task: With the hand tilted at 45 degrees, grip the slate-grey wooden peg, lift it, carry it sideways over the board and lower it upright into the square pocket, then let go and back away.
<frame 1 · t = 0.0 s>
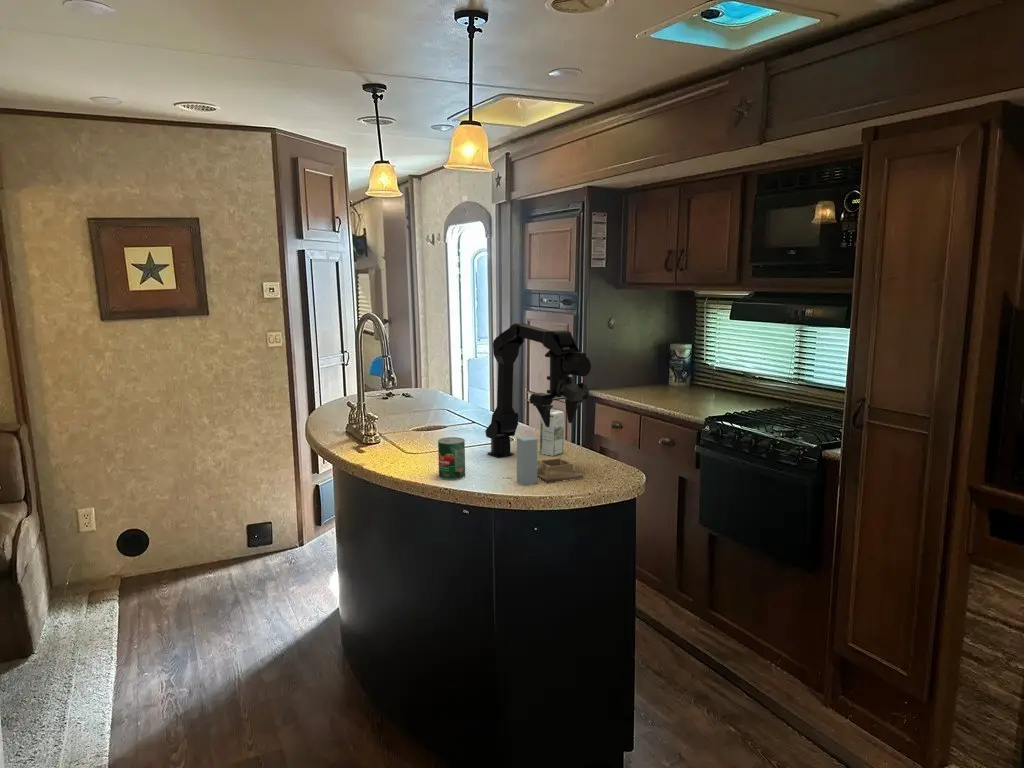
hand: (559, 425, 204), 15 cm above the worktop, tool pointing down, fingers open, 9 cm apart
slate peg: (526, 482, 196), on the worktop
pocket board: (555, 475, 203), on the worktop
syrup box: (551, 454, 229), on the worktop
canned tomato: (452, 477, 203), on the worktop
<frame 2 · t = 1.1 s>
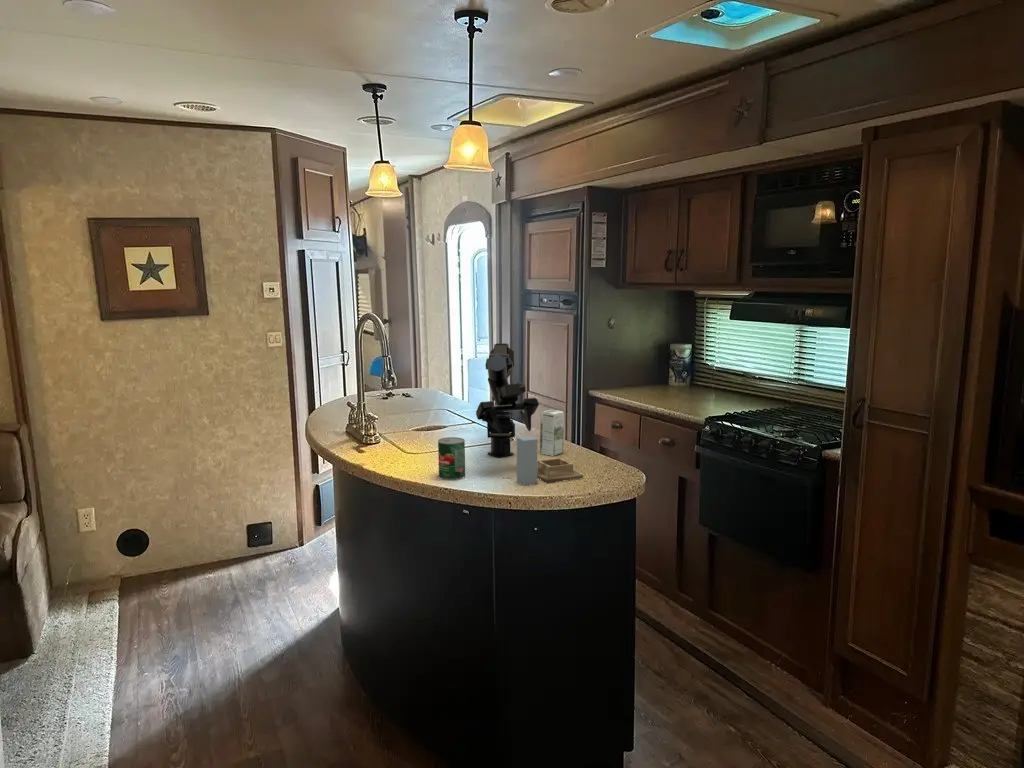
hand: (515, 431, 201), 13 cm above the worktop, tool tilted 45°, fingers open, 9 cm apart
nothing on the worktop moved.
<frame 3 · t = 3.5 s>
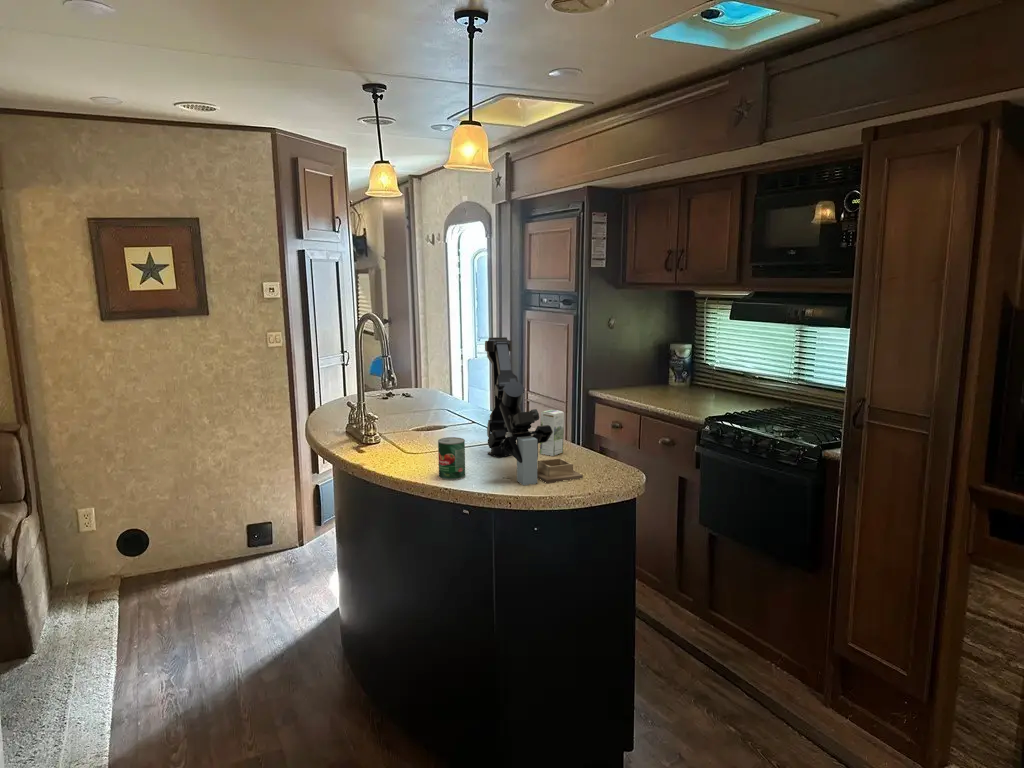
hand: (529, 461, 194), 7 cm above the worktop, tool tilted 45°, fingers closed on slate peg, 4 cm apart
slate peg: (526, 482, 196), on the worktop, touching gripper
everything else where it was.
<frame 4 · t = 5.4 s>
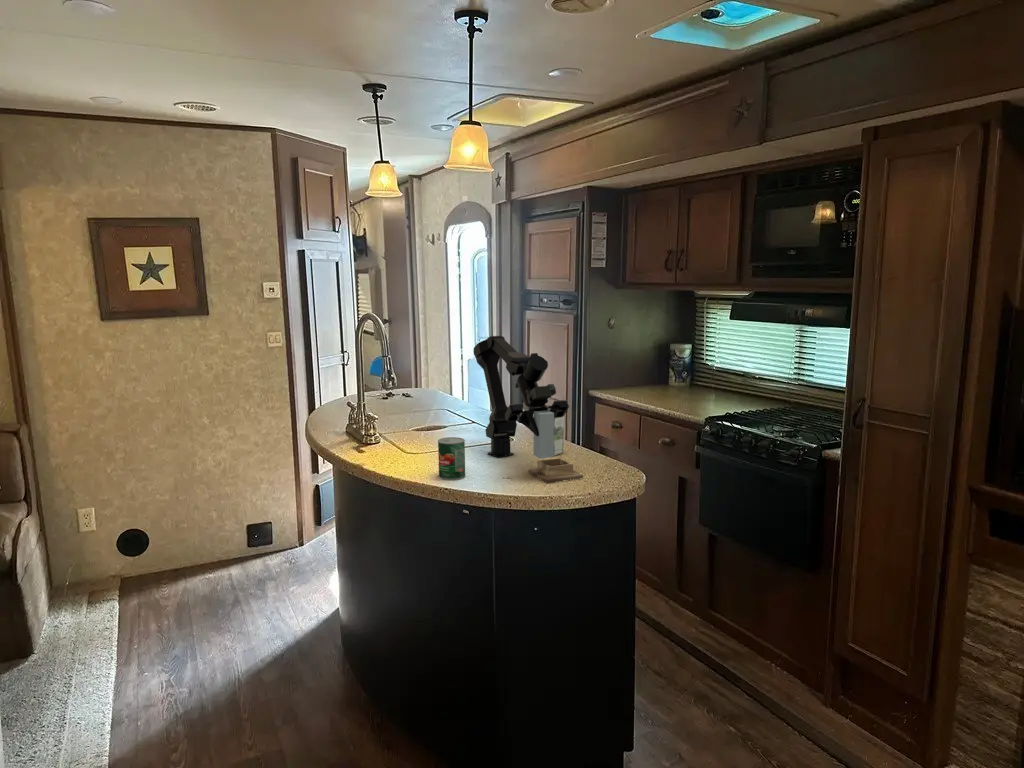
hand: (545, 434, 197), 13 cm above the worktop, tool tilted 45°, fingers closed on slate peg, 4 cm apart
slate peg: (543, 456, 200), point 7 cm above the worktop, touching gripper
everything else where it was.
when the fingers open (8 cm above the worktop, at t = 7.3 s): slate peg stays where it is, resting on pocket board.
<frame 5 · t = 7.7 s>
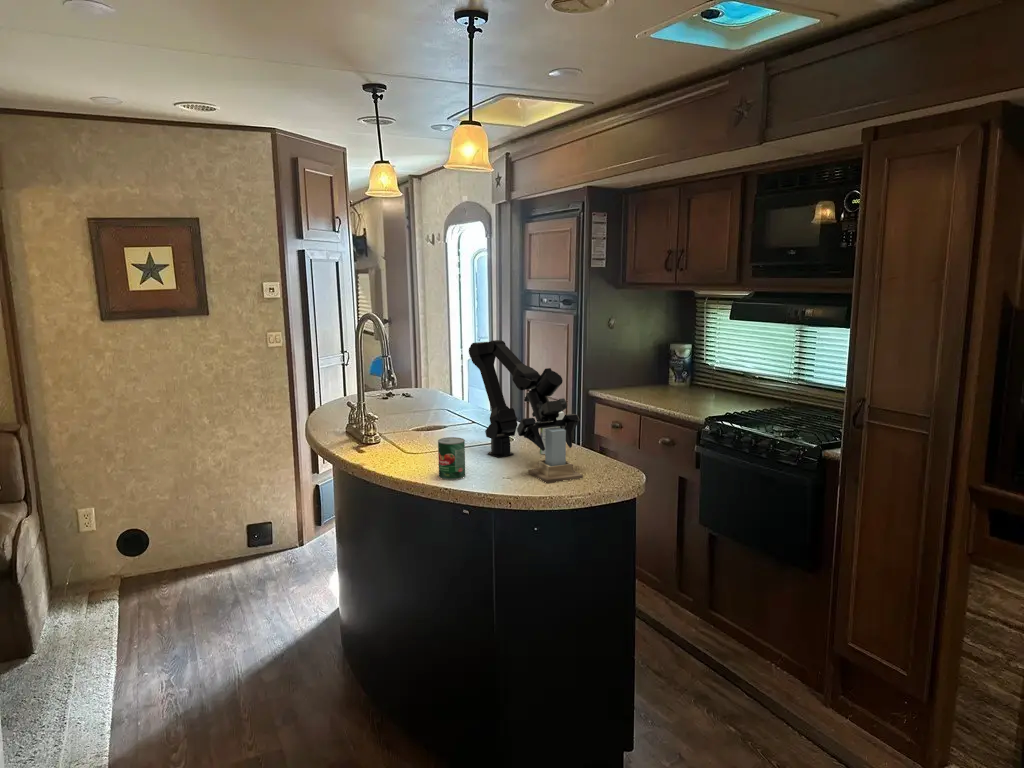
hand: (557, 448, 201), 9 cm above the worktop, tool tilted 45°, fingers open, 9 cm apart
slate peg: (555, 472, 203), point 1 cm above the worktop, touching pocket board
everything else where it was.
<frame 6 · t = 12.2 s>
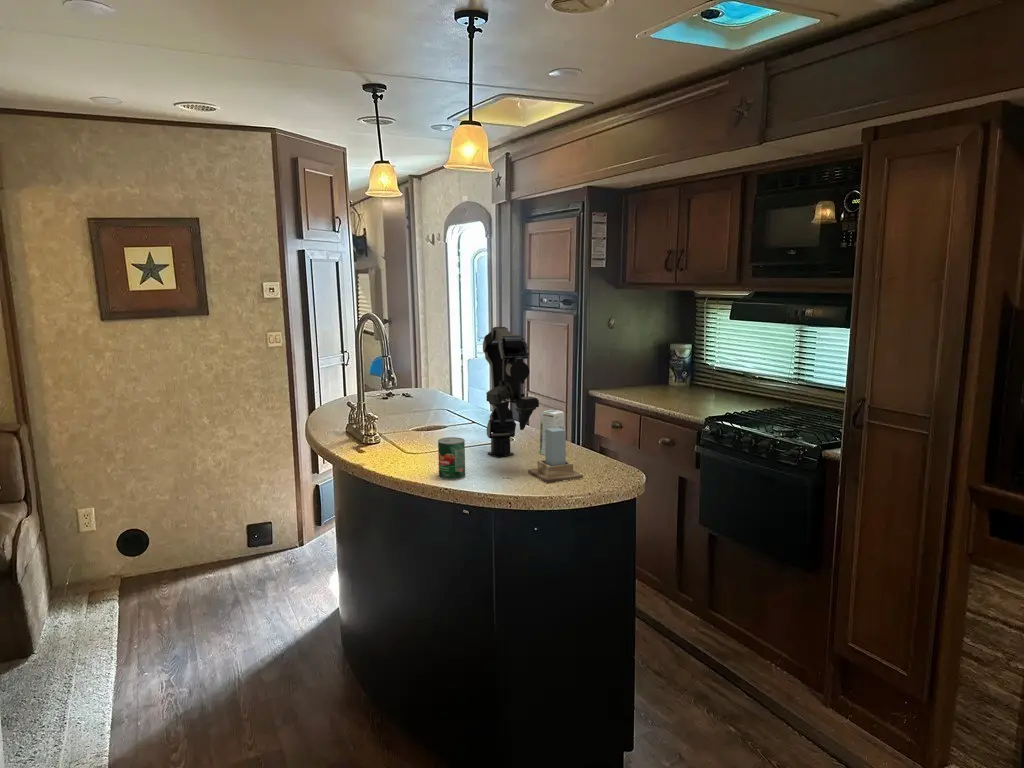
hand: (512, 427, 209), 13 cm above the worktop, tool pointing down, fingers open, 9 cm apart
nothing on the worktop moved.
at the end: slate peg 0.0 cm off-centre on the pocket board, point 1.0 cm above the pocket board's base; slate peg tilted 0°; the gripper is holding nothing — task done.
